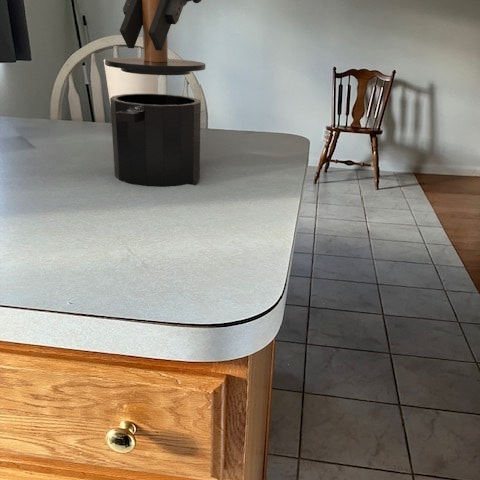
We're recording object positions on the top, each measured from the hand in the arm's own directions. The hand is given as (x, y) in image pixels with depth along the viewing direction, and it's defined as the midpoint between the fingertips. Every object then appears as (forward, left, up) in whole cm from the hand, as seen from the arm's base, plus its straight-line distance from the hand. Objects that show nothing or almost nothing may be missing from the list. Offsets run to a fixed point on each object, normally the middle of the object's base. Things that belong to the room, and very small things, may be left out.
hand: (140, 40), depth 64 cm
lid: (0, +4, -3) cm, 5 cm away
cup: (-19, +32, -18) cm, 41 cm away
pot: (0, +4, -17) cm, 18 cm away
